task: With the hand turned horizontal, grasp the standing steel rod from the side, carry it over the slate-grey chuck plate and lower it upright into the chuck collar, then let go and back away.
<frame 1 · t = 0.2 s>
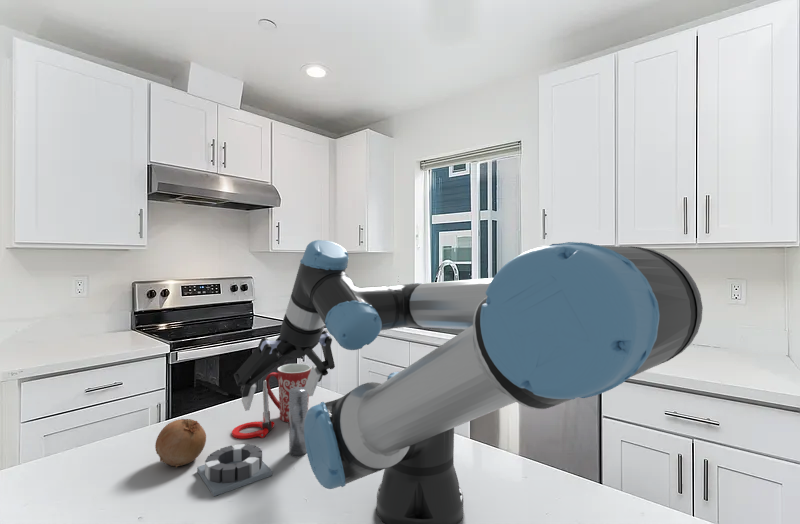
hand: (278, 398, 85), 14 cm above the counter, tool tilted 35°, fingers open, 13 cm apart
chuck: (234, 473, 82), on the counter
onion: (181, 462, 87), on the counter
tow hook: (252, 433, 102), on the counter
steel rod: (298, 452, 91), on the counter
mug: (288, 417, 111), on the counter
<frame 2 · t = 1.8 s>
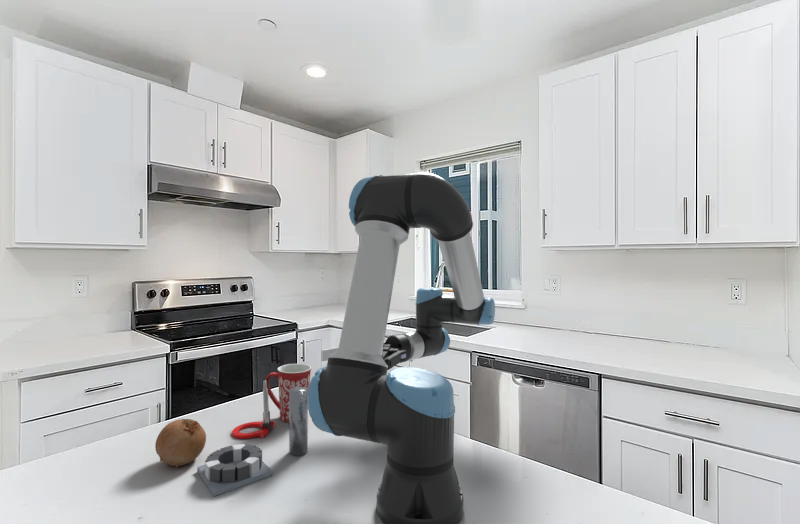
hand: (336, 361, 98), 19 cm above the counter, tool horizontal, fingers open, 13 cm apart
nothing on the counter moved.
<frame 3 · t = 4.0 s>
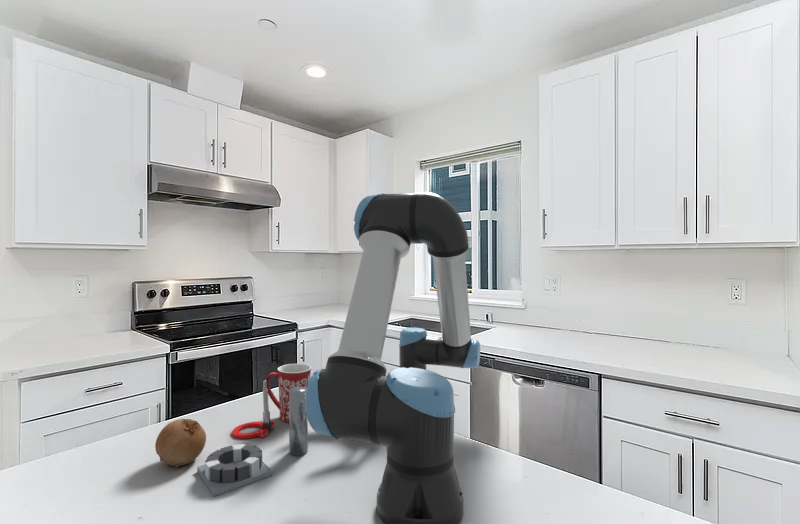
hand: (312, 412, 94), 8 cm above the counter, tool horizontal, fingers open, 13 cm apart
nothing on the counter moved.
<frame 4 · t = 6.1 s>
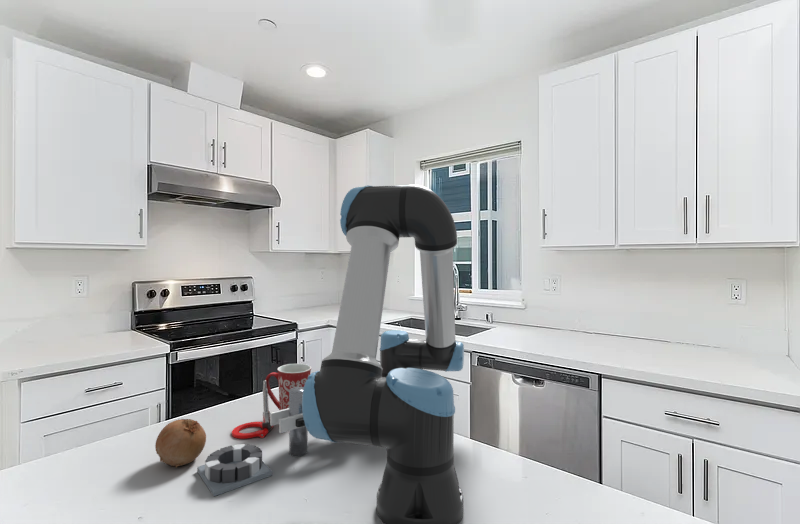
hand: (275, 422, 88), 8 cm above the counter, tool horizontal, fingers closed on steel rod, 4 cm apart
steel rod: (298, 451, 91), on the counter, touching gripper
everything else where it was.
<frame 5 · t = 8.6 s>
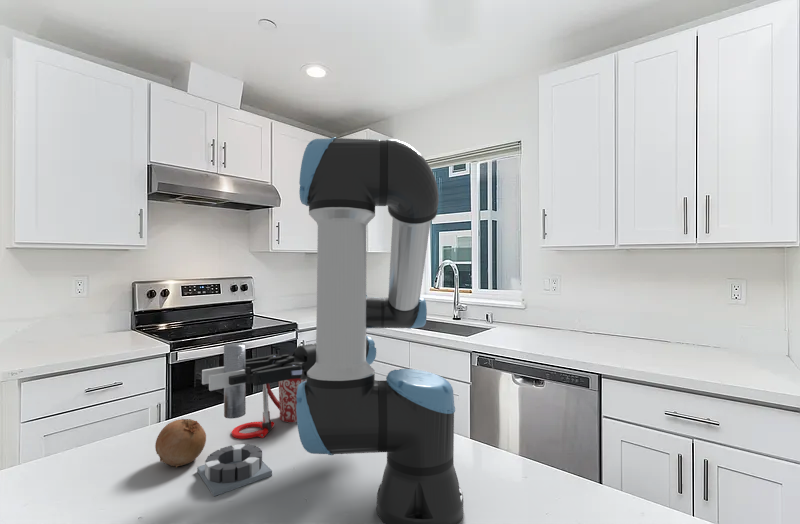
hand: (206, 380, 79), 20 cm above the counter, tool horizontal, fingers closed on steel rod, 4 cm apart
steel rod: (234, 414, 82), point 12 cm above the counter, touching gripper
everything else where it was.
when the fingers open (9 cm above the counter, at t = 11.2 s): steel rod stays where it is, resting on chuck.
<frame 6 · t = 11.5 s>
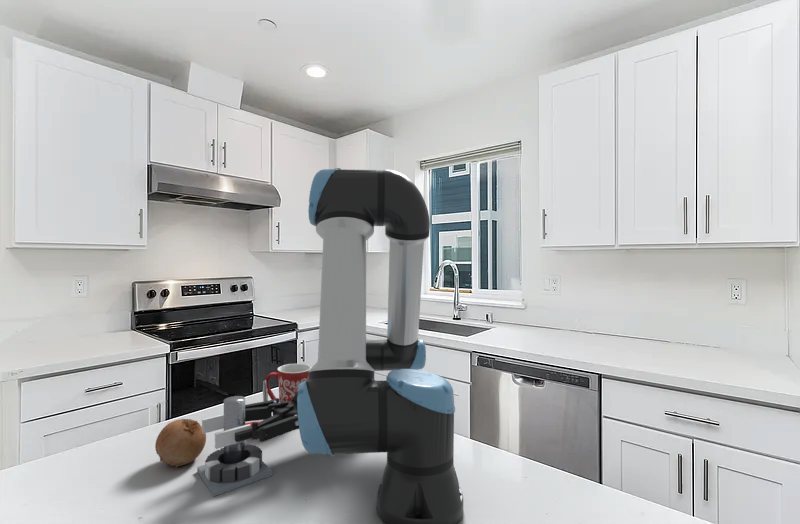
hand: (208, 433, 79), 10 cm above the counter, tool horizontal, fingers open, 8 cm apart
steel rod: (234, 468, 82), point 1 cm above the counter, touching chuck
everything else where it was.
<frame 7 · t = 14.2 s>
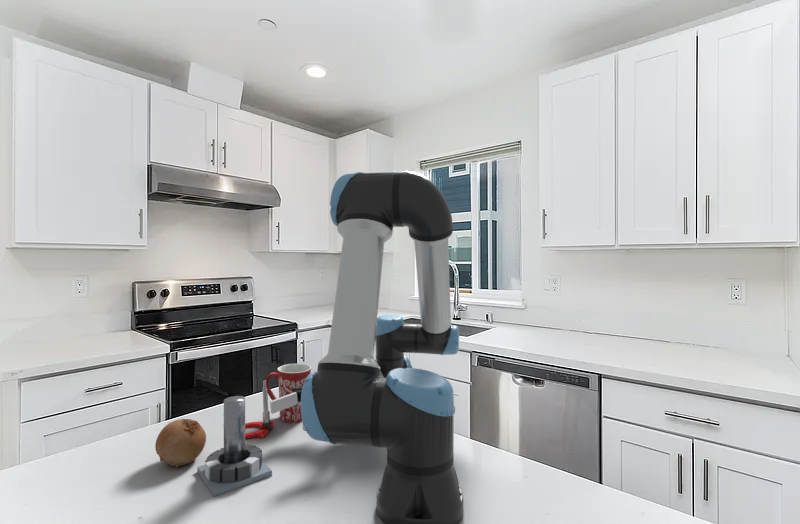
hand: (286, 415, 88), 9 cm above the counter, tool horizontal, fingers open, 13 cm apart
nothing on the counter moved.
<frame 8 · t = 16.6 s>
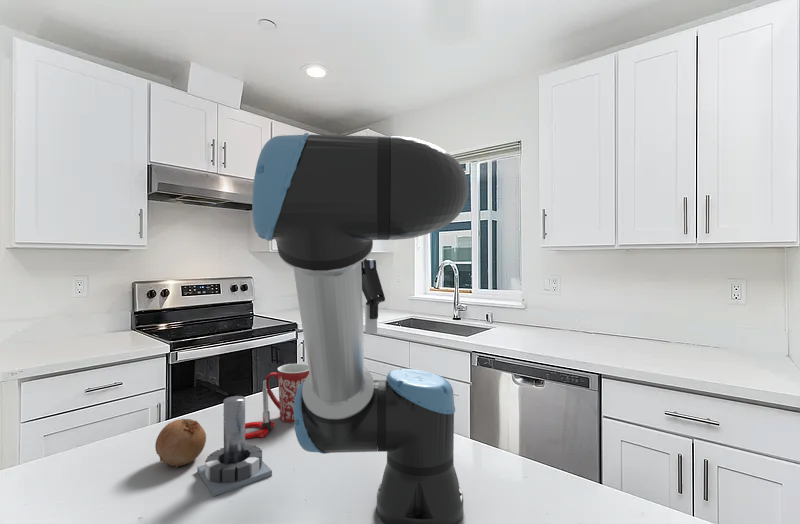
hand: (353, 329, 96), 27 cm above the counter, tool pointing down, fingers open, 13 cm apart
nothing on the counter moved.
at the end: steel rod 0.0 cm off-centre on the chuck, point 1.0 cm above the chuck's base; steel rod tilted 0°; the gripper is holding nothing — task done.
